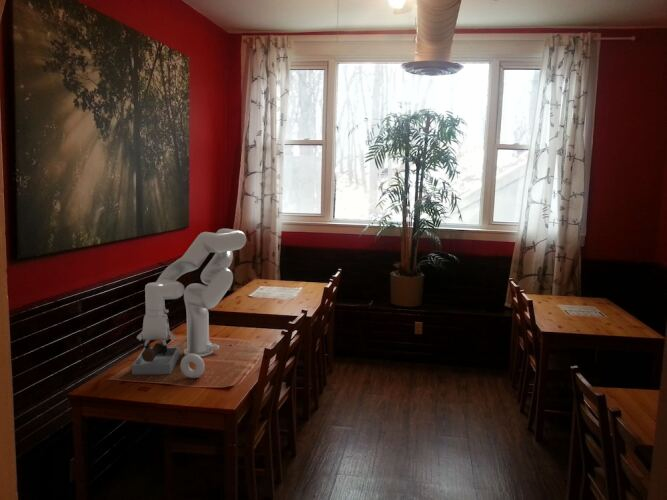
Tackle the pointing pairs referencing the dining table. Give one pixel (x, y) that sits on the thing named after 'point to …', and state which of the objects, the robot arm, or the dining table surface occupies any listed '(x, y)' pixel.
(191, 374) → the donut
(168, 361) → the bin
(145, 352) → the bolt
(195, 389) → the dining table surface
